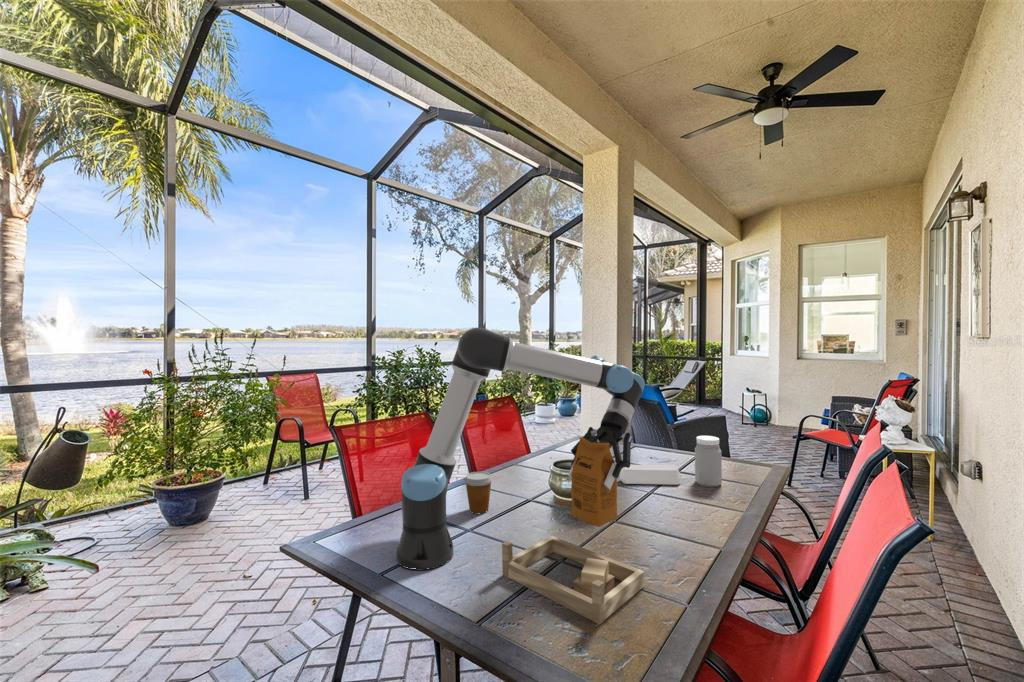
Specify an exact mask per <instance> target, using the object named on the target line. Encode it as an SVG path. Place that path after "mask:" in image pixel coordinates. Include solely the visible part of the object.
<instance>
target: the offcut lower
mask: <svg viewBox="0 0 1024 682" xmlns="http://www.w3.org/2000/svg"><path fill="white" fill-rule="evenodd" d="M615 579H616V578H615V576H613V575H610V574H608V577H607V580H606V584H605V587H604V596H605V595H606V594H607V593H608V592H610V591H611V590H612V589H614V588H615V587H616V585H615V583H616V581H615ZM573 590H575V591H577V592H579V593H581V594H583V595H585V596H587V597H589V598H592V587H589V586H584V585H582V579H581V575H580V576H579V577H577V578H576V579H575V580H573Z"/></svg>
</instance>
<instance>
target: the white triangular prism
mask: <svg viewBox="0 0 1024 682" xmlns="http://www.w3.org/2000/svg"><path fill="white" fill-rule="evenodd" d="M619 478H620V481H621V482H622V483H623V484H625V485H626V484H627V485H628V484H629V485H631V484H632V485H633V484H635V485H673V486H675V485H676V486H677V485H678V486H679V484H680V482H681V480H682V474H681V473H680V470H679V469H678V467H677V465H676V464H675V465H672V464H671V465H670V464H630V467H629V468H627V467H623V468H622V469H621V472H620V474H619Z"/></svg>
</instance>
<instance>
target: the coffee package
mask: <svg viewBox="0 0 1024 682" xmlns="http://www.w3.org/2000/svg"><path fill="white" fill-rule="evenodd" d="M578 442H579V444H578V447H577V452H576V456H574V457H575V461H574V465H573V471H572V479H571V487H570V495H571V496H570V497H571V517H574V518H578V519H580V520H581V521H582V522H583V523H585V524H587V525H591V526H595V527H603V526H604V525H606V524H608V523H609V522H610V521H611V522H612V521H615V520H616V519H617V518H618V500H617V498H618V478H615V480H614V482H613V484H612V487H611V489H610V490H609V489H607V488H606V486H605V485H604V482H605V480H606V478H607V475H608V473H609V470H610V468H611V466H612V463H615V464H616V462H615V458H614V457H613V455H612V452H611V448H612V447H611V445H610V444H609V443H591V442H589V441H588V440H586V439H585V438H583V436H581V437H580V438H579V441H578Z"/></svg>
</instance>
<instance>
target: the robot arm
mask: <svg viewBox="0 0 1024 682" xmlns="http://www.w3.org/2000/svg"><path fill="white" fill-rule="evenodd" d="M450 365H451V367H452V369H453V374H452V376H451V379H450V381H449V385H448V387H447V390H446V392H445V396H444V398H443V400H442V404H441V406H440V408H439V411H438V413H437V416H436V419H435V422H434V425H433V427H432V430H431V433H430V435H429V437H428V441H427V444H426V445H425V446H423V447H421V448H420V449H419V451H418V453H417V457H416V459H415V462H414V464H413V466H412V467H409V468H408V469H405V470H404V472H403V474H402V477H401V482H400V488H401V507H402V509H401V510H402V512H401V513H402V532H401V535H400V539H399V542H398V544H397V545H398V547H397V548H396V562H397V561H398V563H400V564H401V565H402V566H405V567H408V568H416V569H427V568H433V567H436V568H438V567H437V566H439V567H441V566H440V565H442V564H444V563H446V562H447V561H448V560H450V559H451V560H452V558H453V557H454V544H453V541H452V537H451V534H450V532H449V529H448V526H447V492H448V487H449V483H450V480H451V478H452V475H453V473H454V469H455V467H456V465H457V459H456V458H455V456H454V455H455V453H456V449H457V447H458V444H459V441H460V439H461V436H462V433H463V430H464V428H465V425H466V422H467V419H468V417H469V415H470V411H471V408H472V406H473V403H474V400H475V398H476V395H477V393H478V389H479V387H480V385H481V382H482V381H483V380H486V379H488V378H489V375H490V372H491V370H493V371H499V372H505V371H507V370H512V371H516V372H521V373H526V374H530V375H531V374H532V375H536V376H540V377H545V378H549V379H550V378H551V379H554V380H556V379H557V380H559V381H564V382H569V383H574V384H580V385H583V386H588V387H593V388H597V389H602V390H604V391H605V392H607V394H610V395H611V396H612V398H611V399H610V402H609V403H608V406H607V408H606V410H605V413H604V415H603V416H602V418H601V421H600V425H599V427H598V428H597V429H596V428H593V426H590V427H588V430H587V431H586V433H585V434H584V435H583V436H582V437H583V438H585V439H586V440H588V441H589V442H591V443H609V444H610V445H611V448H612V452H613V455H614V462H615V463H612V466H611V468H610V470H609V473H608V475H607V478H606V480H605V482H604V485H605V486H606V488H607V489H609V490H610V489H611V487H612V484H613V482H614V480H615V478H617V479H618V478H619V477H620V472H621V469H622V468H623V467H627V468H629V467H630V465H631V454H632V453H631V448H632V447H631V446H632V443H633V439H634V438H633V437H632V435H631V433H630V432H627V430H628V427H629V424H630V422H631V419H632V417H633V415H634V413H635V410H636V407H637V405H638V404H639V401H640V399H641V397H642V396H643V392H644V388H645V385H646V383H645V380H644V378H643V377H642V376H641V375H640V374H638V373H635V372H633V371H631V369H630V368H629V367H626V366H625V365H622V364H616V363H611V362H608V361H607V360H605V358H603V357H601V356H599V355H597V354H594V355H593V356H591V357H590V358H589V357H586V356H585V357H584V356H579V355H575V354H570V353H565V352H561V351H557V350H552V349H547V348H543V347H539V346H533V345H529V344H525V343H520V342H516V341H514V340H513V339H512V338H511V337H510V336H504V335H502V334H499V333H496V332H493V331H491V330H489V329H487V328H484V327H472V328H470V329H468V330H466V331H465V332H464V333H462V335H461V337H460V338H459V340H458V344H457V348H456V351H455V352H454V356H453V359H452V361H451V364H450ZM621 441H623V442H622V443H623V444H622V449H623V450H622V455H621V450H620V445H619V442H621ZM578 444H579V441H577V443H576V444H575V445H574V446H573V448H571V449H570V453H571V454H572V455H573V458H572V461H571V462H570V463H571V464H570V466H571V467H570V469H569V472H568V473H567V475H568V477H569V478H570V479H571V480H572V471H573V465H574V461H575V456H576V452H577V447H578ZM452 556H453V557H452ZM451 560H450V561H451ZM448 562H449V561H448ZM448 562H447V563H448ZM398 563H397V564H398ZM447 563H446V564H447ZM444 565H445V564H444ZM402 566H401V567H402ZM442 566H443V565H442ZM433 569H434V568H433ZM427 570H428V569H427Z"/></svg>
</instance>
